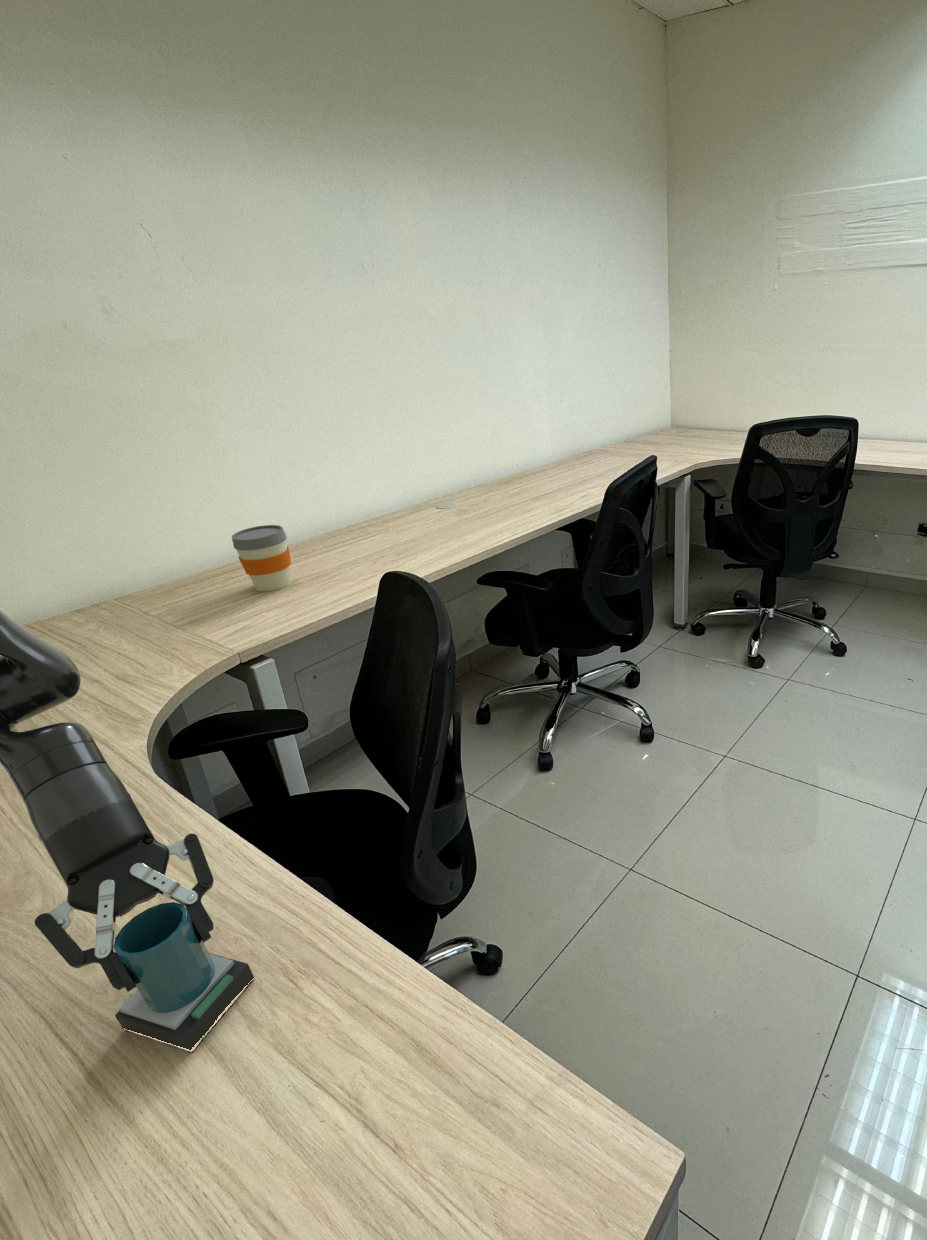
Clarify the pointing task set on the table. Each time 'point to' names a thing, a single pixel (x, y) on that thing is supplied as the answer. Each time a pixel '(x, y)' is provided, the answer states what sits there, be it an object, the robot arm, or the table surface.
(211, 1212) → the table surface
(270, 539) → the reusable coffee cup
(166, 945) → the ceramic cup
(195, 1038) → the scale
